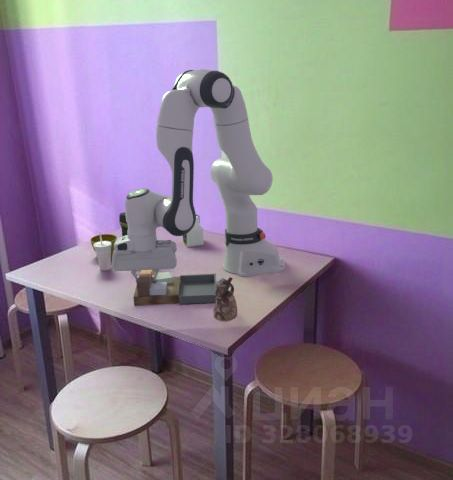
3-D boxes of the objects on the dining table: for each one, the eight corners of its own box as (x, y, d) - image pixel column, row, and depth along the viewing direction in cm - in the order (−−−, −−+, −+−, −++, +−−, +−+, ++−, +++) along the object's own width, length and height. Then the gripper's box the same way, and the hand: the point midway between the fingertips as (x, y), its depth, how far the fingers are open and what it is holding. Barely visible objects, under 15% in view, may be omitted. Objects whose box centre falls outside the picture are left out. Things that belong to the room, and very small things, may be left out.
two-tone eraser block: (154, 277, 175) (153, 264, 173) (149, 295, 162) (148, 282, 160) (144, 277, 175) (143, 264, 173) (137, 295, 162) (136, 282, 160)
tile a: (169, 277, 175) (168, 271, 174) (172, 282, 171) (172, 277, 170) (154, 279, 174) (154, 273, 173) (157, 285, 169) (156, 279, 169)
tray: (216, 281, 178) (215, 273, 177) (217, 303, 163) (217, 294, 162) (180, 283, 177) (180, 275, 176) (179, 305, 162) (178, 296, 161)
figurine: (209, 312, 157) (208, 276, 153) (231, 307, 160) (230, 271, 155) (219, 323, 151) (217, 285, 147) (241, 318, 153) (240, 281, 149)
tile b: (167, 287, 167) (166, 282, 167) (165, 294, 163) (165, 288, 162) (151, 288, 167) (151, 282, 166) (149, 295, 163) (149, 289, 162)
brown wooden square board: (180, 284, 176) (180, 276, 175) (179, 303, 163) (178, 295, 162) (138, 286, 176) (138, 278, 175) (134, 305, 163) (133, 297, 162)
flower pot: (123, 251, 207) (121, 234, 204) (111, 261, 197) (109, 243, 195) (100, 250, 209) (98, 233, 206) (87, 259, 200) (85, 242, 197)
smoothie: (106, 263, 195) (102, 228, 190) (117, 267, 191) (114, 231, 187) (92, 269, 191) (88, 233, 186) (103, 273, 187) (99, 236, 182)
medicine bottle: (182, 241, 215) (181, 213, 211) (199, 239, 217) (198, 211, 213) (186, 247, 209) (185, 219, 205) (204, 245, 211) (202, 216, 206)
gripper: (176, 236, 166) (179, 275, 171) (111, 239, 166) (116, 278, 170) (175, 243, 160) (178, 284, 165) (108, 246, 160) (113, 287, 164)
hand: (146, 281), depth 168 cm, fingers closed on two-tone eraser block, 4 cm apart
